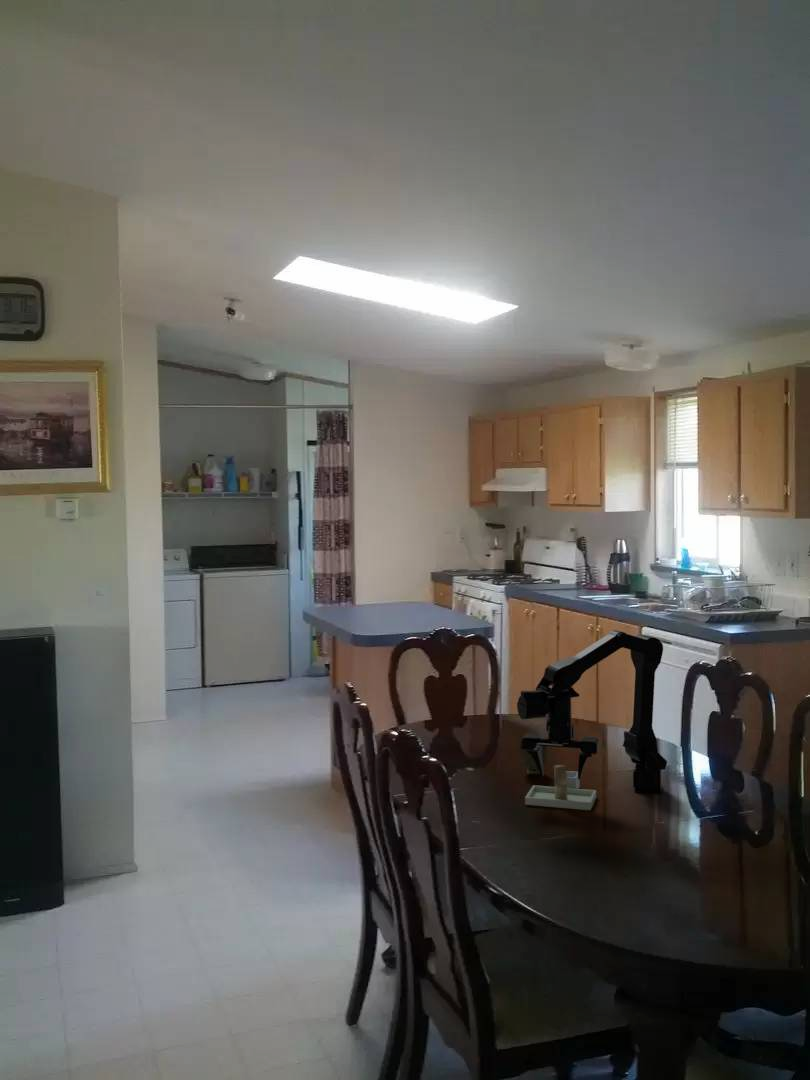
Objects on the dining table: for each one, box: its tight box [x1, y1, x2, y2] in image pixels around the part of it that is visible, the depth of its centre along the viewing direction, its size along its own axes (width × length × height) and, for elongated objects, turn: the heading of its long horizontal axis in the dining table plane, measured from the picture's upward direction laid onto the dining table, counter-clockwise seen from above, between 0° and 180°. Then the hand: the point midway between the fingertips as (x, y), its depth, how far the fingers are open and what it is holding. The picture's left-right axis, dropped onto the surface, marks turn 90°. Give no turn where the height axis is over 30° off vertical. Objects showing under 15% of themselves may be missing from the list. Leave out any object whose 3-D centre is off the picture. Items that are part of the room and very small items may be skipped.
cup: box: [519, 744, 548, 776], centre depth 255 cm, size 8×7×8 cm
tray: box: [524, 785, 597, 811], centre depth 232 cm, size 16×10×2 cm, turn 71°
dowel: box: [553, 764, 567, 800], centre depth 232 cm, size 3×3×8 cm
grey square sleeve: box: [566, 770, 581, 789], centre depth 241 cm, size 6×6×4 cm
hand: (560, 777), depth 232 cm, fingers open, 9 cm apart
